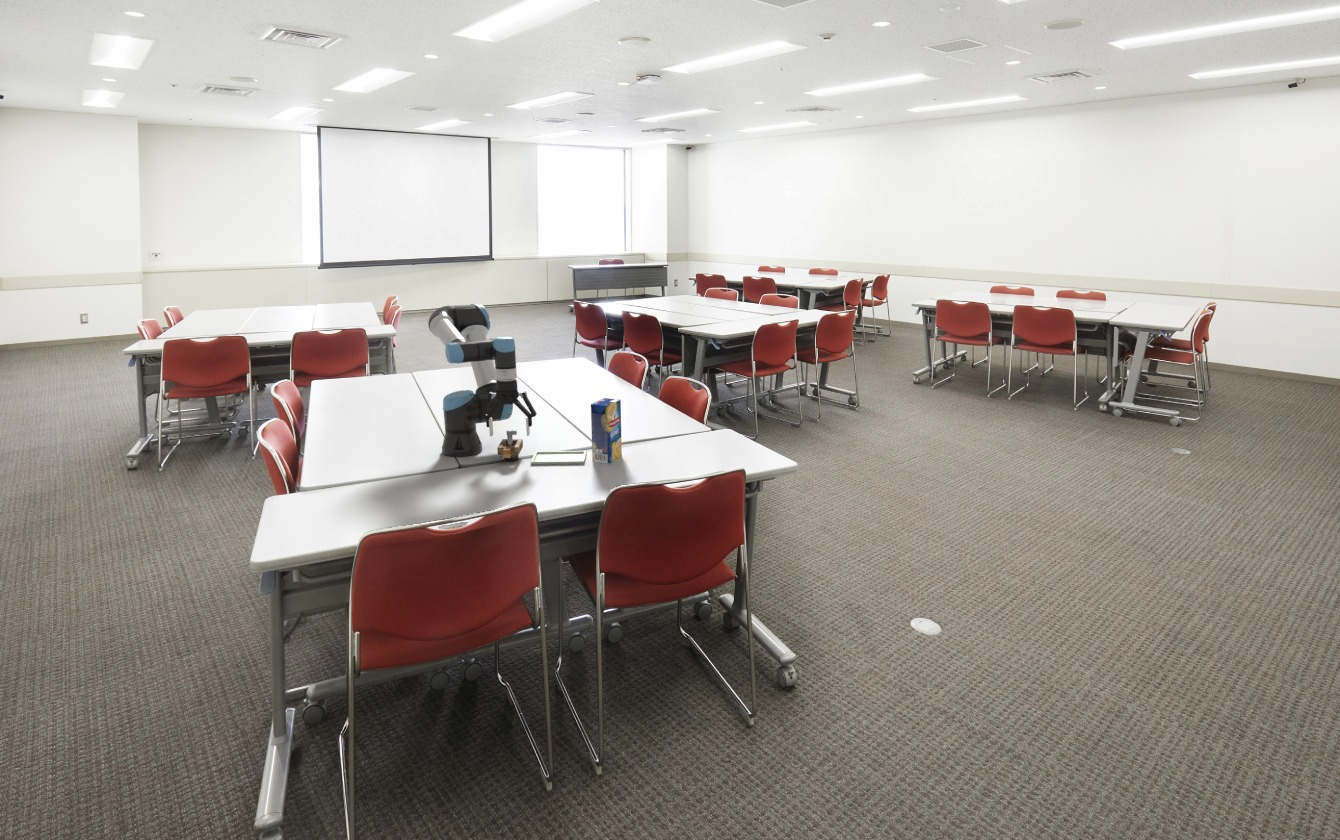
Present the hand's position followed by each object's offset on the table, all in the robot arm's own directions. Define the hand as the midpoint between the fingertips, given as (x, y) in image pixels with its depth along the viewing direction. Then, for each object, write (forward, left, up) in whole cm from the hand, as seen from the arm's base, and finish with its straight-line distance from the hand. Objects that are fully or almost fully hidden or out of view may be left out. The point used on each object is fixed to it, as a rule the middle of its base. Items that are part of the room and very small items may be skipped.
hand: (510, 435), depth 278 cm
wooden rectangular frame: (+1, -1, -6) cm, 6 cm away
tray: (+14, +12, -10) cm, 20 cm away
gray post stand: (0, 0, -10) cm, 10 cm away
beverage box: (+27, +24, -10) cm, 37 cm away
